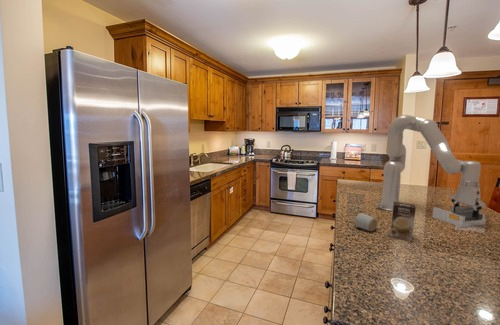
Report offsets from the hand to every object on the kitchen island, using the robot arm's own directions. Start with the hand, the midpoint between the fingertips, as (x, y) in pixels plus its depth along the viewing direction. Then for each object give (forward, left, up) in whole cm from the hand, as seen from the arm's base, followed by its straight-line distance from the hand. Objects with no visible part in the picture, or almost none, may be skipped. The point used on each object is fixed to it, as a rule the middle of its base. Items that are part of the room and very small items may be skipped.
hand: (465, 214), depth 143 cm
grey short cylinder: (-59, +7, -5) cm, 59 cm away
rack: (0, +4, -5) cm, 6 cm away
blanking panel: (0, 0, -4) cm, 4 cm away
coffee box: (-50, -6, -5) cm, 51 cm away
